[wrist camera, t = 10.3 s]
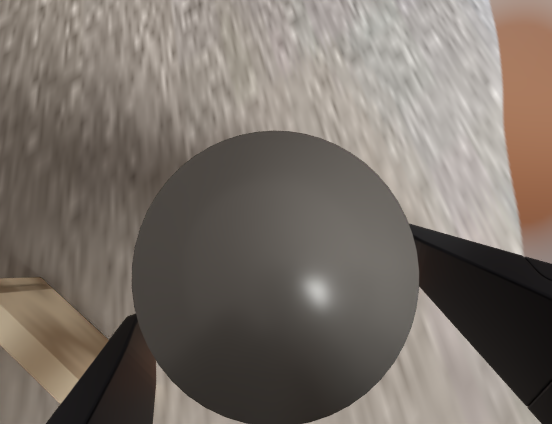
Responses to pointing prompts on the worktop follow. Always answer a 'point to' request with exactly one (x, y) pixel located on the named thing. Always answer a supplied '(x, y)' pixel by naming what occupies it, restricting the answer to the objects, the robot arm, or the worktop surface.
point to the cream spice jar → (275, 278)
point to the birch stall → (46, 334)
